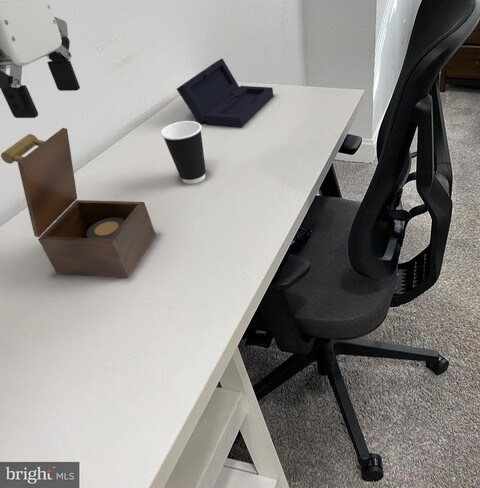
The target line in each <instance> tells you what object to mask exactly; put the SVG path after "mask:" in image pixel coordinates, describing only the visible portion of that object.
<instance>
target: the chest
mask: <svg viewBox="0 0 480 488" xmlns="http://www.w3.org/2000/svg"><path fill="white" fill-rule="evenodd" d="M107 218H122V219H124V220H125V221H124V222H123V224H122V225H121V226H120V228H119V229H118V230H117V231H116V233H115V234H114V235H113V236H112V238H111V239H101V238H87V235H86V234H87V230H88V229H89V228H90V227H91V226H92V225H93V224H95V223H97V222H99V221H101V220H104V219H107ZM156 234H157V233H156V231H155V229H154V226H153V222H152V220H151V217H150V214H149V210H148V209H147V206H146V203H145V201H129V200H128V201H126V200H89V199H88V200H87V199H76V200H75V201H74V202H73V203H72V204H71V205H70V206H69V207H68V208H67V209H66V210H65V211H64V212H63V213H62V214H61V215H60V216H59V217H58V218H57V219H56V220H55V221H54V222H53V223H52V224H51V226H50V227H49V228H48V229H47V230H46V231H45V232H44V233H43V234H42V235H41V236H40V237H38V242H39V244H40V245H41V248H42V249H43V251H44V253H45V255H46V256H47V258H48V260H49V262H50V264H51V266H52V268H53V270H54V271H55V273H56V275H64V276H65V275H67V276H68V275H69V276H87V277H105V278H125V279H128V278H129V277H130V275H131V274H132V273H133V271H134V270H135V268H136V267H137V265H138V264H139V262H140V261H141V259H142V258H143V256H144V255H145V254H146V252H147V251H148V249H149V247H150V246H151V245H152V243H153V241H155V239H156V238H157V235H156Z"/></svg>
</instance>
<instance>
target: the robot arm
mask: <svg viewBox="0 0 480 488" xmlns="http://www.w3.org/2000/svg"><path fill="white" fill-rule="evenodd" d="M54 15H55V14H54V13H53V10H52V8H51V6H50V4H49V1H48V0H0V91H1V93H2V95H3V97H4V99H5V101H6V103H7V105H8V108H9V110H10V112H11V114H12V116H13V117H14V118H15V119H35V118H37V117H38V116H39V112H38V109H37V107H36V105H35V102H34V100H33V98H32V96H31V93H30V90H29V88H28V87H27V85H26V84H22V73H23V67H25V66H28V65H30V64H32V63H35V62H36V61H38V60H40V59H43V58H45V57H46V58H48V60H49V61H47V62H46V63H47V66H48V68H49V71H50V73H51V77H52V78H53V81H54V84H55V86H56V88H57V90H58V91H60V92H69V91H71V92H72V91H74V92H76V91H78V90H80V89H81V86H80V83H79V81H78V78H77V75H76V72H75V70H74V66H73V64H72V62H71V60H72V54H71V51H70V45H71V41H70V39H69V32H68V31H69V30H68V23H67V22H66V21H65V20H64V19H61V18H58V17H57V16H54ZM7 69H8V70H9V74H8V73H6V72H7Z"/></svg>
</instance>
